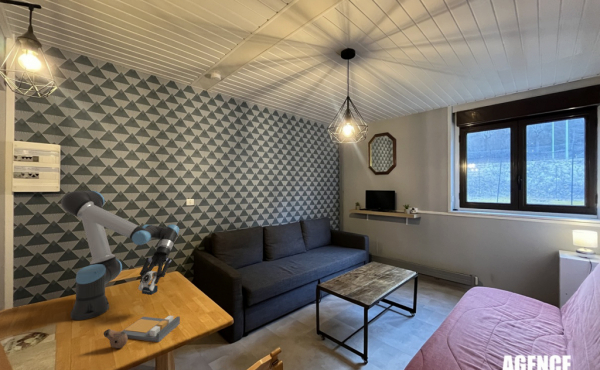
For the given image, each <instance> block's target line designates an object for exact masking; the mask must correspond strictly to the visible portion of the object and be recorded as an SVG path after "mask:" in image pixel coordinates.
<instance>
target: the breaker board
mask: <svg viewBox="0 0 600 370" xmlns="http://www.w3.org/2000/svg"><path fill="white" fill-rule="evenodd" d="M180 323H181V317H180V316H176V317H175V318H174V315H168V316H167V317H165V318H161V317H160V318H157V317H151V316H142V317H140V318H138V319H137V320H136V321H135V322H133V323H131V325H129V326H127V327H126V328H124V329H123V330H122V331H123V332H125V333H126V335H127V338H128V339H131V340H141V341H148V342H153V343H154V342H156V343H159V342H161V341H162V340H163V339H164V338H165V337H167V336H168V335H169V334H170V333H171V332H172V331H174V329H176V328H177V327H178V326H180Z"/></svg>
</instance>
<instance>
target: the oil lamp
mask: <svg viewBox="0 0 600 370" xmlns="http://www.w3.org/2000/svg"><path fill="white" fill-rule="evenodd" d="M103 336H104V338H107V339H108V341H109V345H110V347H111V348H114V349H121V348H123V347H124V346H126V345H127V343H128V340H129V338H127V335H126V333H125V332H123V330H119V331H116V330H114V329H109V328H108V329H105V331H103Z"/></svg>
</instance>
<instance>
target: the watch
mask: <svg viewBox="0 0 600 370" xmlns="http://www.w3.org/2000/svg"><path fill="white" fill-rule="evenodd" d="M156 275H157V271H154V270H151V271H149V272H147V273H146V274H145V275H144V276H143V277H142V276H141V278H142V284H143V286H144V287H143V289H142V291H141V294H142V295H149V296H152V295H154V294H155V293H158V289H159V288H158V285H157V284H155V287H154V289H153V291H151V290H150V289H149V288H150V286H151V283H152V281H153V279H154V277H155V276H156ZM156 277H157V276H156Z"/></svg>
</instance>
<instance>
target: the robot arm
mask: <svg viewBox="0 0 600 370" xmlns="http://www.w3.org/2000/svg"><path fill="white" fill-rule="evenodd" d="M105 201H106V200H105V198H104V196H103V194H102V193H100V192H99V191H95V190H74V191H70V192H68V193H65V195H63V196H62V198H61V201H60V204H61V205H60V206H61V208H62V209H63V210H64V211H65V212H67V213H69V214H70V215H72V216H73V217H77V218H79V219H80V220H81V222H82V225H83V230H84V233H85V237H86V241H87V244H88V248H89V251H90V255H91V261H90V262H89V265H88V266H84V267H81V268H80V269H79V270H78V271H77V272H76V276H75V302H74V304H73V308H72V310H71V312H70V319H71V320H74V321H83V320H88V319H92V318H96V317H98V316H101V315H102V314H105V313H106V312H107V311H108V310H109V309H110V304H109V301H108V298H107V296H106V285H107V284H109V283H110V282H111V281H113V280H115V279H116V278H117V277H118V276H119V275H120V274H121V273H122V270H123V264H122V262H121V261H120V260H118V258H117V257H116V254H113V253H112V251H111V248H110V247H111V246H110V244H109V241H108V236H107V233H106V230H105V228H106V229H108V230H110V231H113V232H115V233H118V234H119V235H122V236H124V237H126V238H128V239H131V241H132V242H133V244H135V245H137V246H142V245H145V244H148V243H149V242H150V241H152V240H158V241H159V242H158V245H157V247H156V249H155V251H154V253H153V255H152V256H151V257H146V258H145V262H144V264H143V266H142V268H141V270H140V272H139V275H140V276H141V278H140V280H139V283H140V284H139V285H138V290H139V291H141V292H142V289H143V287H144V286H143V284H142V277H143V276H144V275H145V274H146V273H147V272H149V271H153V269H154V268H155V267H156V266H157V271H156V272H157V275H156V276H157V277H156V276H155V277H154V276H153V277H154V279H153V278H152V279H153V281H152V280H151V282H152V283H151V282H150V284H151V286H150V288H149V289H150V290H151V291H153V289H154V287H155V285H157V284H159V283H158V282H159V281H160V280H161V278H165V277H166V273H167V271H168V269H169V266H170V265H171V263H172V262H173V260H172V259H171V258H170V257H169V255H170V253H171V250H172V249H173V246H174V243H175V242H176V239H177V237H178V235H179V233H180V228H179V226H178V225H176V224H171V223H170V224H169V225H166V227H163V226H160V225H159V226H158V225H153V224H144V225H143V226H140V225H138V224H135V223H134V222H132V221H130V220H127V219H126V218H123V217H121V216H118V215H116V214H115V213H112V212H110V211H108V210H107V209H104V208H103V206H104V205H105V203H106V202H105ZM168 257H169V258H168Z"/></svg>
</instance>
